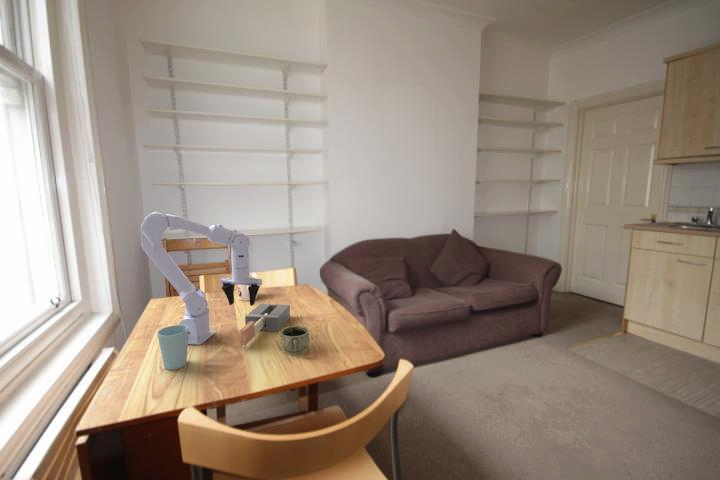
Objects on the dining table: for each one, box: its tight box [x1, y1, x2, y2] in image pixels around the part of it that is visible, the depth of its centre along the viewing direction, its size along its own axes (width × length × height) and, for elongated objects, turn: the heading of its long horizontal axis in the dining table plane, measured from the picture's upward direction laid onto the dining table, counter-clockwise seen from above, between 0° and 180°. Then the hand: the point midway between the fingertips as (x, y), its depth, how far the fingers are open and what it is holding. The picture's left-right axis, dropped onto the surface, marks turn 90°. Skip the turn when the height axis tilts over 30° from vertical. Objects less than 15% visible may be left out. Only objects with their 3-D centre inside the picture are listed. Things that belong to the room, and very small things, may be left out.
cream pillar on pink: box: [239, 313, 268, 346], centre depth 113 cm, size 20×2×5 cm, turn 175°
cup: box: [156, 324, 189, 371], centre depth 93 cm, size 8×8×10 cm
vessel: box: [280, 325, 310, 356], centre depth 103 cm, size 12×9×6 cm
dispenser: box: [244, 303, 291, 332], centre depth 124 cm, size 14×12×6 cm
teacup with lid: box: [237, 274, 259, 302], centre depth 153 cm, size 12×9×12 cm
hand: (242, 304), depth 118 cm, fingers open, 7 cm apart
